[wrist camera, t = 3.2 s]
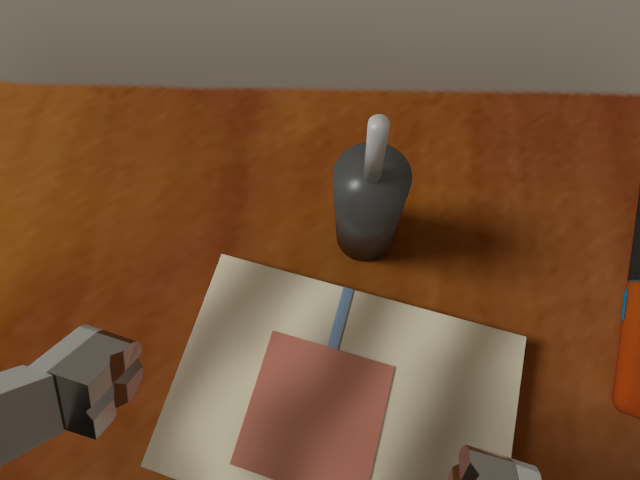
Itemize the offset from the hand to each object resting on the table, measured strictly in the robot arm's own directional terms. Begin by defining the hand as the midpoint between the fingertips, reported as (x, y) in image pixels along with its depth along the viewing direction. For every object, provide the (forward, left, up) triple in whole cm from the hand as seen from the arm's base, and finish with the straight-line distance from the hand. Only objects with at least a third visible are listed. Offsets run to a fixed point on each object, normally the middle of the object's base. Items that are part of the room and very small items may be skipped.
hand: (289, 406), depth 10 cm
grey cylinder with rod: (0, -10, -14) cm, 17 cm away
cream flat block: (-1, 0, -14) cm, 14 cm away
